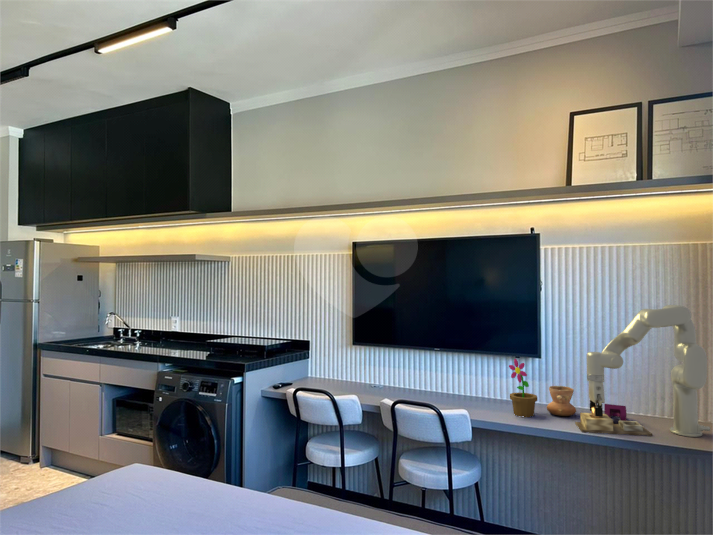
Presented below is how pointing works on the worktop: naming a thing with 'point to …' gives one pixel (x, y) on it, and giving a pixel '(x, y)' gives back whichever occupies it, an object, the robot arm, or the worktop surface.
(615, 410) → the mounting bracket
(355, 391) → the worktop surface
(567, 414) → the ceramic jug
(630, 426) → the docking station
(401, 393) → the worktop surface
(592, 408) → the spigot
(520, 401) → the flowerpot
